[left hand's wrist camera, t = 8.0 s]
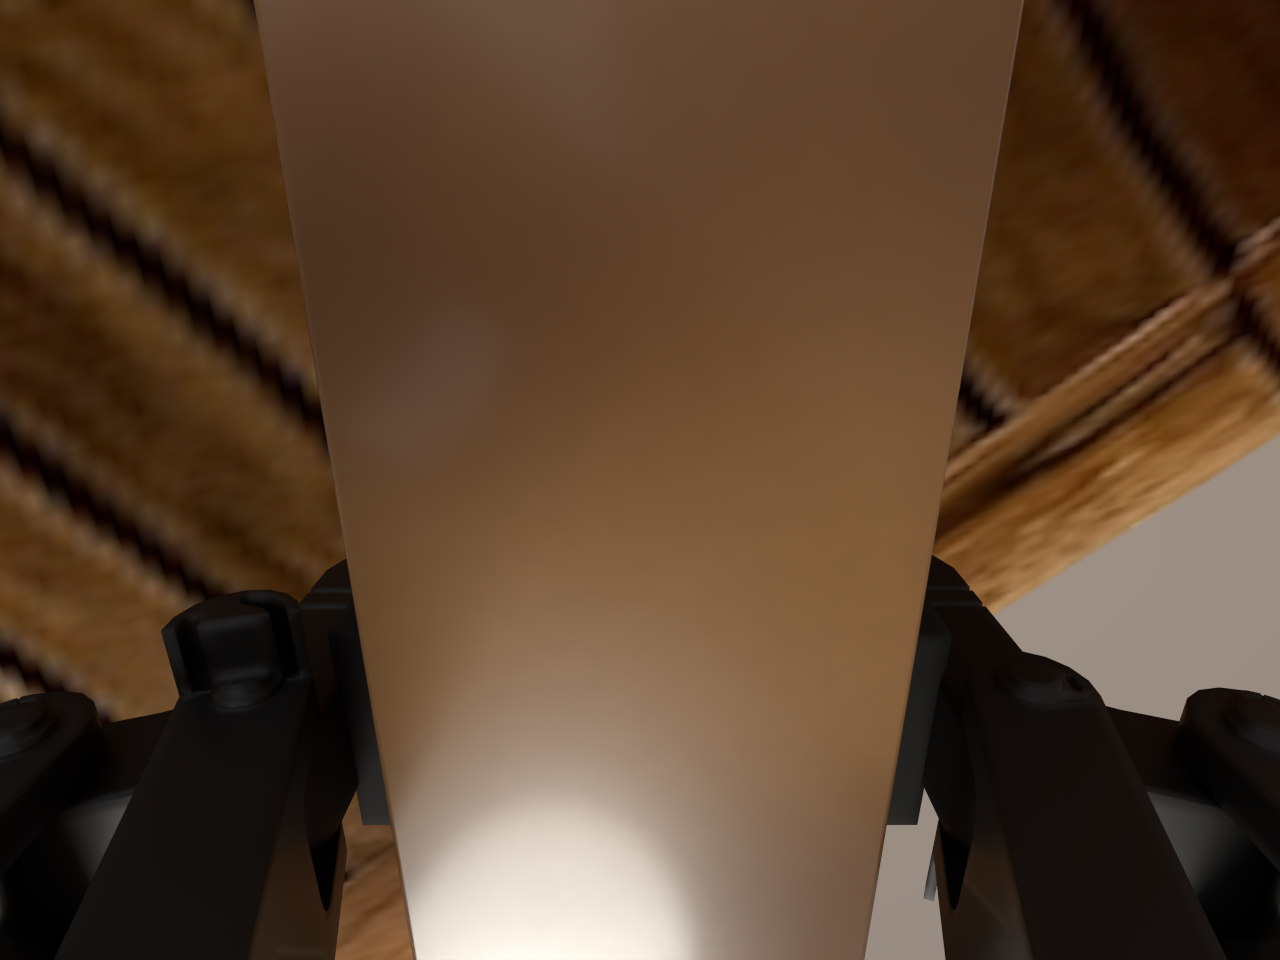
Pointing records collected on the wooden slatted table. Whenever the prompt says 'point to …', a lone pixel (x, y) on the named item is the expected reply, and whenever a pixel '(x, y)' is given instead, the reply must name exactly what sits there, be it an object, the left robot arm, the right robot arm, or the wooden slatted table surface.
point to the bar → (638, 438)
